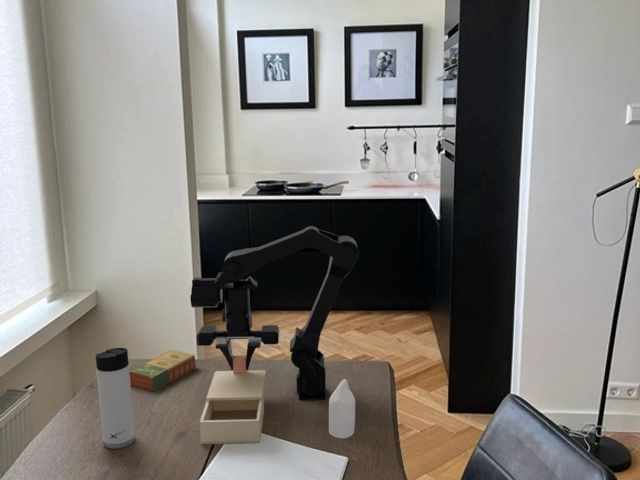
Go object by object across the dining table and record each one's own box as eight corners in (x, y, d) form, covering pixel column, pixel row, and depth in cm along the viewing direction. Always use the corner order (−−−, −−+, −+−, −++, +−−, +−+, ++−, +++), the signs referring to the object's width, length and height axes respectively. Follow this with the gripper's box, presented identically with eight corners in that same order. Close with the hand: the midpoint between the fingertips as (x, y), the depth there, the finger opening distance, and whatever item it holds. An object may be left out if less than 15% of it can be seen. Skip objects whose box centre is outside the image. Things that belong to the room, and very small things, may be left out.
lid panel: (265, 372, 150) (265, 354, 149) (262, 399, 136) (261, 379, 135) (215, 373, 149) (214, 355, 148) (206, 400, 136) (205, 380, 135)
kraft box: (264, 410, 142) (263, 390, 141) (259, 443, 128) (259, 420, 127) (210, 411, 142) (209, 391, 141) (200, 444, 128) (199, 422, 127)
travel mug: (118, 452, 125) (110, 358, 121) (96, 443, 129) (88, 352, 125) (142, 438, 131) (135, 348, 126) (120, 430, 134) (113, 342, 130)
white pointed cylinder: (326, 373, 133) (352, 371, 133) (327, 425, 135) (353, 423, 136) (330, 385, 127) (357, 384, 128) (330, 439, 129) (357, 438, 130)
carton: (196, 369, 166) (195, 354, 165) (153, 393, 152) (152, 377, 151) (172, 363, 170) (171, 348, 169) (128, 386, 156) (126, 370, 155)
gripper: (279, 295, 153) (280, 355, 156) (202, 296, 153) (205, 357, 156) (277, 309, 142) (279, 374, 146) (194, 311, 142) (198, 375, 145)
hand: (240, 369), depth 148 cm, fingers closed on lid panel, 3 cm apart
